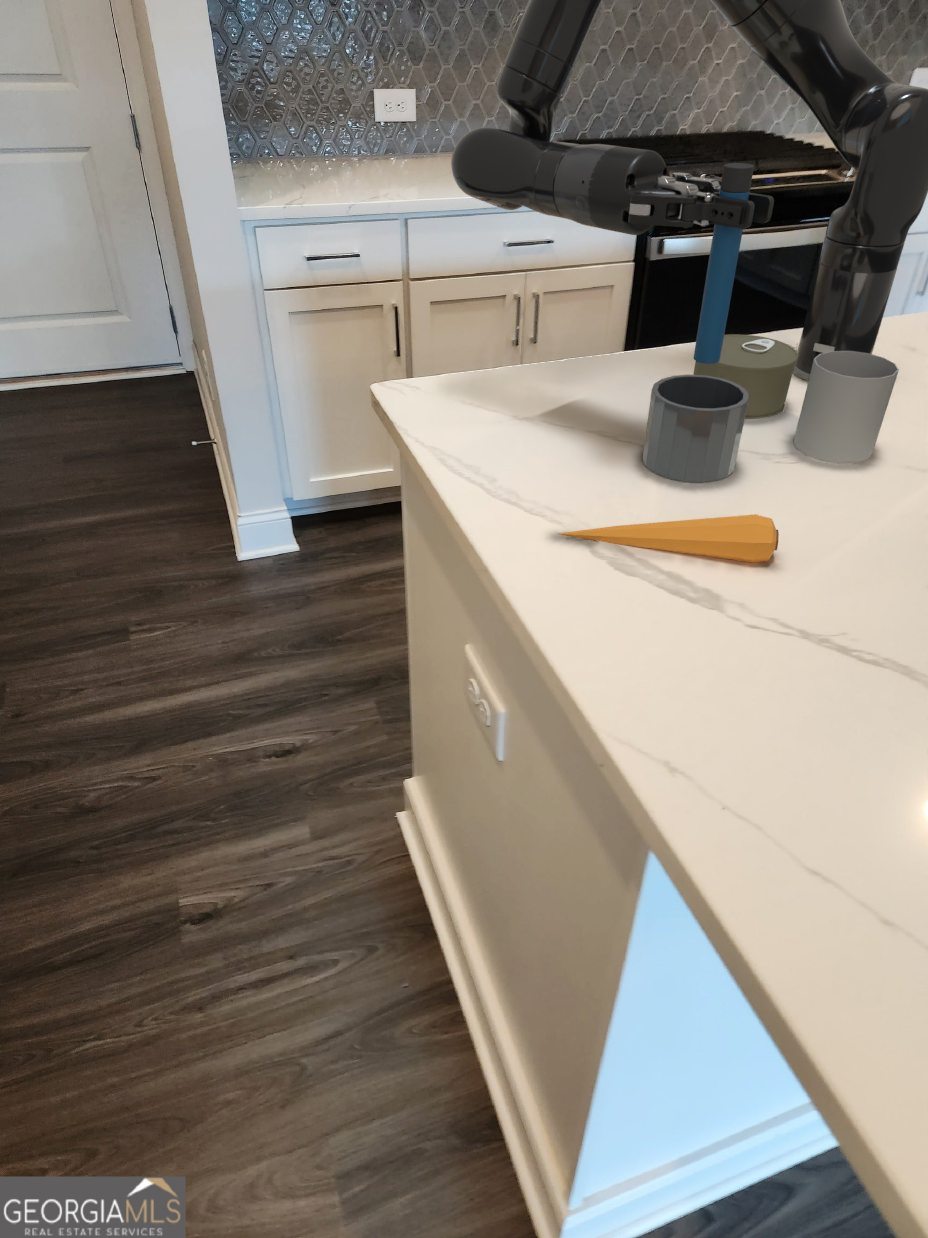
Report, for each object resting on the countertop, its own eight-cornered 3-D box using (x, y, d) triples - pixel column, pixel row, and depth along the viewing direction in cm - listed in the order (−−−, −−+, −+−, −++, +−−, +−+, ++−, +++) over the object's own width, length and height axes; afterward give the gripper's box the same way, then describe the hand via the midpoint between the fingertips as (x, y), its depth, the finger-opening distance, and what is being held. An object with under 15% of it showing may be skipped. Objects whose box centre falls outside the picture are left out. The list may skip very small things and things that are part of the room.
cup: (876, 470, 90) (905, 381, 84) (797, 464, 91) (820, 375, 85) (863, 437, 96) (888, 352, 90) (789, 432, 98) (810, 348, 92)
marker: (703, 353, 85) (734, 161, 75) (724, 359, 84) (760, 164, 73) (688, 359, 84) (718, 165, 73) (710, 365, 82) (743, 168, 72)
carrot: (772, 560, 77) (776, 512, 76) (777, 569, 73) (781, 517, 72) (559, 553, 82) (560, 507, 81) (552, 560, 78) (553, 512, 76)
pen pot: (676, 438, 97) (687, 367, 91) (751, 466, 91) (768, 392, 86) (623, 464, 91) (632, 390, 86) (699, 496, 85) (714, 418, 80)
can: (668, 403, 105) (676, 349, 101) (720, 378, 112) (730, 327, 107) (753, 431, 98) (765, 375, 94) (803, 403, 105) (816, 349, 100)
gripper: (566, 153, 78) (724, 175, 68) (656, 138, 85) (811, 156, 75) (561, 239, 82) (709, 272, 72) (647, 217, 90) (792, 244, 80)
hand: (760, 212), depth 74 cm, fingers closed on marker, 2 cm apart
